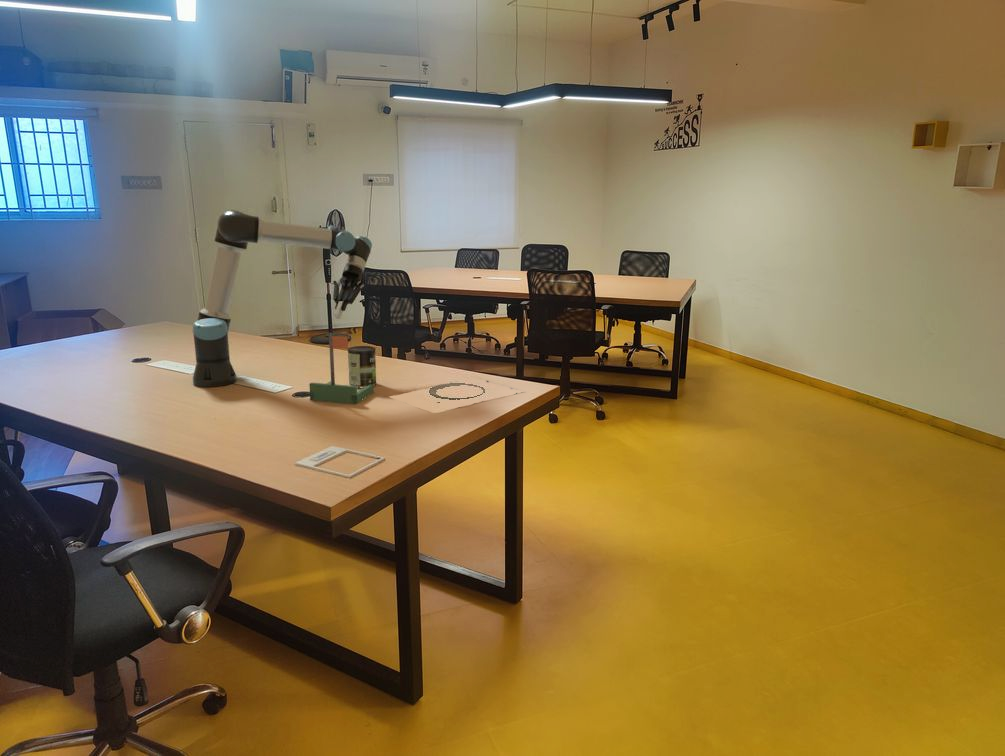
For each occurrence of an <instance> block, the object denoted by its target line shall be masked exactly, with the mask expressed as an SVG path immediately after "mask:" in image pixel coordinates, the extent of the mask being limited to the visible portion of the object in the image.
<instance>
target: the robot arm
mask: <svg viewBox="0 0 1005 756" xmlns="http://www.w3.org/2000/svg"><path fill="white" fill-rule="evenodd" d="M216 227H217V228H216V232H215V237H214V241H213V242H214V243H215V245H216V247H217V248H216V253H215V257H214V263H213V267H212V272H211V276H210V279H209V280H210V282H209V286H208V291H207V294H206V300H205V305H204V307H203V308H202V309H200V310H199V312H198V315H197V316H198V317H197V320H196V321H194V322H193V325H192V333H193V340H194V342H193V343H194V351H195V352H194V353H195V361H196V362H195V369H194V372H193V376H192V383H193V386H197V387H203V388H211V387H221V386H222V387H223V386H228V385H231V384H234V383H235V381H236V382H237V373H236V372H235V370H234V367H233V365H232V363H231V357H230V344H229V330H230V326H231V320H232V316H231V315H230V314H229V310H230V306H231V301H232V297H233V293H234V292H233V291H234V289H235V285H236V283H235V282H236V280H237V279H236V278H237V276H238V275H237V274H238V270H239V265H240V260H241V256H242V254H243V252H245V251H247V249H248V243H254V244H259V243H261V242H268V243H269V242H270V243H277V244H278V243H279V244H284V245H285V244H286V245H292V246H293V245H294V246H301V247H310V248H320V249H327V250H335V251H340V252H342V253H344V254H345V255H347V256H348V258H347V260H346V263H345V265H344V268H343V271H342V274H341V275H342V276H341V277H340V278H339V280H337V281H336V280H333V281H332V282H333V295H332V296H333V297H332V299H333V301H334V304H335V307H334V309H335V311H334V313H333V315H334V317H335V318H336V320H339V319H341V317H342V315H343V312H345V311H346V309H347V307H348V305H349V304H350V305H352V304H353V303H354V302H355V301H356V298H357V297H358V295H359V294H360V292H361V291H362V290H363V289H364V288H365V284H364V283H363V281H361V279H362V277H363V274H364V271H365V269H366V266H367V262H368V260H369V257H370V254H371V253H372V251H371V250H372V248H373V245H372V244H373V243H372V241H371V240H370V239H369V238H368V237H366V236H361V235H358V236H356V237H355V236H354V235H353V233H351V232H350V231H347V230H342V229H340V228H338V227H336V226H335V225H333V224H331V225H329V226H328V227H327V228H323V227H316V226H309V225H301V224H294V223H285V222H279V221H272V220H271V221H270V220H265V219H264V220H263V219H262V218H261V217H260V216H254V215H249V214H246V213H243V212H242V211H239V210H235V209H229V210H227V211H224V212H223V213H222V214H221V215H220V216H219V217H218V221H217V226H216ZM340 287H341V288H340Z"/></svg>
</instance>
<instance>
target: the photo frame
mask: <svg viewBox="0 0 1005 756" xmlns="http://www.w3.org/2000/svg"><path fill="white" fill-rule="evenodd" d="M345 453H350V454H354V455H360V456H363V457H367V456H368V457H367V458H372V457H374V458H373V459H376V458H379V459H377V460H374V461H373V462H371V463H369V464H367V465H366V466H365V465H364V467H362V468H359V469H357V470H355V471H354V472H352V473H350V474H346V473H343V472H338V471H335V470H331V469H328V468H327V469H326V468H322V467H317V466H319V465H322V464H324V463H325V462H327V461H329V460H330V461H331V460H332V459H334V458H336V457H338V456H340V455H343V454H345ZM384 459H385V460H386V457H383V456H378V455H374V454H371V453H366V452H361V451H357V450H353V449H348V448H343V447H341V446H335V445H332V446H329V447H327V448H324V449H323V450H320V451H317V452H316V453H314V454H312V455H309V456H307V457H305V458H303V459H300V460H298V461H296V462H294V466H295V465H296V466H299V467H303V468H308V469H311V470H314V471H315V470H316V471H318V472H319V471H320V472H323V473H327V474H331V475H335V476H338V477H339V476H340V477H344V478H347V479H351V478H352V477H354V476H356V475H358V474H360V473H362V472H363V471H365V470H369V468H371V466H372V467H373V465H374V466H376V465H377V464H379V463H381V462H383V461H385V460H384ZM382 460H383V461H382ZM380 461H381V462H380ZM378 462H379V463H378ZM375 464H376V465H375Z"/></svg>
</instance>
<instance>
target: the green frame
mask: <svg viewBox="0 0 1005 756" xmlns="http://www.w3.org/2000/svg"><path fill="white" fill-rule="evenodd" d="M348 341H349V340H348V336H334V334H333V333H332V332H328V343H329V358H330V359H329V364H330V365H329V366H330V381H329V382H327V383H325V382H324V383H323V382H310V383H309V384H308V385H309V401H313V402H314V401H315V402H323V403H324V402H326V403H338V404H350V405H357V404H358V403H360V402H362V401H363V400H365V399H366V398H368V397H369V396H371V395H372V394H371V393H373V392H374V393H375V386H374V385H373V384H370V385H368V386H366V387H365V388H360V390H358V388H357V386H349V384H347V385H345V384H336V381H335V380H336V379H335V377H336V376H335V359H334V357H335V355H334V349H342V350H347V349H348V348H349V342H348ZM374 393H373V394H374ZM370 394H371V395H370ZM368 395H369V396H368ZM367 396H368V397H367ZM365 397H366V398H365ZM364 398H365V399H364ZM362 399H363V400H362ZM361 400H362V401H361ZM359 401H360V402H359ZM356 403H357V404H356Z"/></svg>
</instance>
